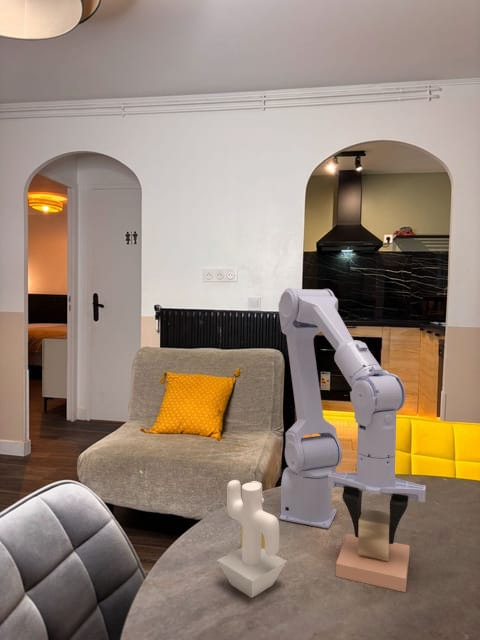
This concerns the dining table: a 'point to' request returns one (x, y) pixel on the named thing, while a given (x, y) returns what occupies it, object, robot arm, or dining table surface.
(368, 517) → the beech block
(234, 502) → the figurine
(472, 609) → the dining table surface
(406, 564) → the riser
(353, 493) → the robot arm
